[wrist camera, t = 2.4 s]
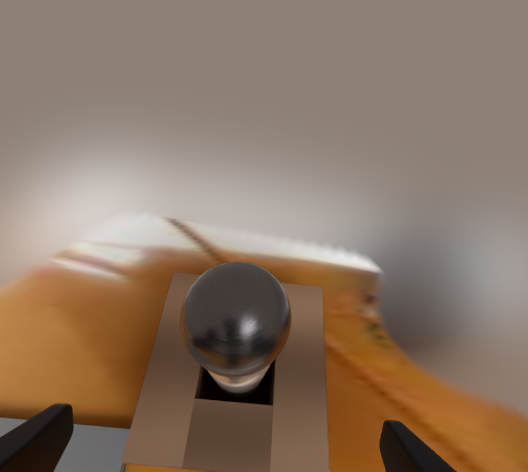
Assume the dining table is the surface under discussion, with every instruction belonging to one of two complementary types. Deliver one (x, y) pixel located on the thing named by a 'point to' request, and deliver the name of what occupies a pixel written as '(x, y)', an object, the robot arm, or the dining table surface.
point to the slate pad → (86, 447)
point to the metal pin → (236, 324)
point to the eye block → (233, 413)
